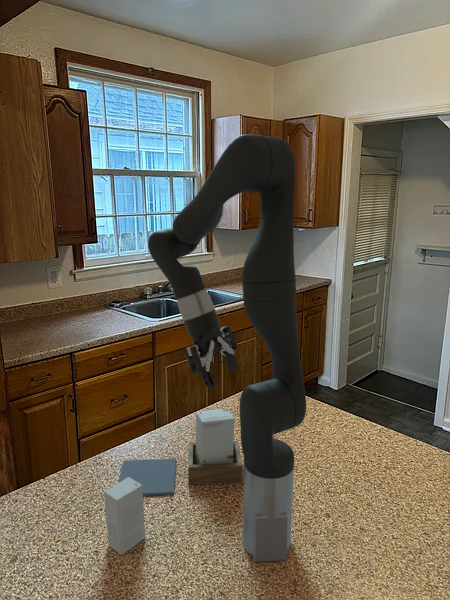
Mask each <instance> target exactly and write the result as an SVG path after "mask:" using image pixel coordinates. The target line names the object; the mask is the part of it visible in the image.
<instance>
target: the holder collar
mask: <svg viewBox="0 0 450 600" xmlns="http://www.w3.org/2000/svg"><path fill="white" fill-rule="evenodd" d="M187 457H188V461H187V463H188V465H187V466H188V468H187V471H188V473H187V474H188V475H187V476H188V485H193V486H194V485H215V484H217V485H218V484H237V483H238V484H241V483H243V470H244V464H243V460H242V454H241V449H240V443H239V440H234V450H233V460H234V462H233V463H227V464H200V465H196V464H194V462H196V441H195V442H193V441H192V442H188V456H187Z"/></svg>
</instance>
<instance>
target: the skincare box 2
mask: <svg viewBox="0 0 450 600" xmlns="http://www.w3.org/2000/svg"><path fill="white" fill-rule="evenodd" d="M234 441H235V417H234V416H233V414H232V413H231V412H230V410H229V409H228V408H220V409H209V410H208V409H207V410H204V411H196V412H195V442H196V461H195V465H200V464H227V463H234V459H233V450H234Z"/></svg>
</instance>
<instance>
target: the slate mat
mask: <svg viewBox="0 0 450 600" xmlns="http://www.w3.org/2000/svg"><path fill="white" fill-rule="evenodd" d="M176 469H177V458H162V459H161V458H156V459H152V458H151V459H130V460H129V459H125V460H123V463H122V466H121V471H120V474H119V478H118V482H117V484H118V483H119V482H121V481H123V480H124V479H126V478H127V477H129V478H131V479H133V480H135V481H136V482H138V483H140V484H141V485H142V489H143V497H145V496H147V497H148V496H166V495H168V496H169V495H175V483H176Z"/></svg>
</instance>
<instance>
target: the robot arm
mask: <svg viewBox="0 0 450 600" xmlns="http://www.w3.org/2000/svg"><path fill="white" fill-rule="evenodd" d="M243 192H244V193H249V194H251V193H252V194H253V193H255V194H256V193H257V194H259V203H260V216H259V217H260V218H259V219H260V220H259V224H258V225H259V226H258V229H257V232H256V235H255V238H254V240H253V242H252V244H251V245H250V248H249V251H248V253H247V256H246V258H245V260H244V264H243V267H242V274H241V277H242V278H241V279H242V280H241V282H242V284H241V285H242V297H243V298H242V299H243V307H244V311H245V314H246V316H247V318H248V320H249V322H250V323H251V324H252V326H253V327H254V329H255V330H256V332H257V333H258V335H259V337H261V339H262V341H263V342H264V343H265V345H266V347H267V349H268V352H269V355H270V359H271V367H272V368H271V369H272V378H271V379H269V380H264V381H261V382H257V383H252V384H249V385H247V386H245V387H244V388H243V390H242V391H241V393H240V399H239V425H240V427H239V428H240V445H241V450H242V454H243V482H242V483H243V485H242V486H243V490H242V491H243V494H242V501H243V502H242V546H243V548H244V550H245V551H246V552H247V553H248V555H250V557H252V560H253V561H252V562H254V563H257V562H258V563H259V562H277V561H279V562H280V561H287V558H288V553H289V551H290V550H291V543H292V542H291V540H292V537H291V536H292V518H293V515H292V514H293V499H294V498H293V493H294V476H295V475H294V472H295V469H294V468H295V453H294V450H293V448H292V447H291V446H290V445H289V444H288V443H287V442H284V441H282V440H281V439H278V438H274V435H277V434H279V433H282V432H285V431H288V430H291V429H294V428H296V427H298V426H300V425H301V424H302V423H303V422H304V420H305V418H306V414H307V413H306V412H307V399H306V398H307V396H306V390H305V389H306V388H305V381H304V375H303V367H302V360H301V354H300V343H299V334H298V333H299V331H298V316H297V315H298V314H297V280H296V269H295V267H296V266H295V249H294V245H295V243H294V240H295V239H294V238H295V237H294V214H295V213H294V210H295V209H294V208H295V192H296V159H295V153H294V150H293V148H292V146H291V144H290V143H289V142H288V141H287V140H285V139H283V138H282V137H275V136H268V135H262V134H253V133H247V134H246V133H244V134H240V135H238V136H236V137H235V138H234V139H232V140H231V142H230V143H229V144H228V145H227V147H226V148H225V149H224V150H223V152H222V153H221V155H220V157H219V159H218V160H217V162H216V163H215V165H214V167H213V169H212V170H211V171H210V173H209V174H208V176H207V177H206V180H205V181H204V183H203V185H202V186H201V188H200V189H199V191H198V192H197V193H196V195H195V196H194V197H193V198H192V199H191V200H190V202H189V203H187V204H186V206H185V207H183V208H182V209H181V210H180V212H178V214H177V215H176V216H175V218H174V220H173V222H172V226H169V227H167V228H163V229H160V230H156V231H154V232H152V233H151V234H150V236H149V237H148V240H147V241H148V242H147V243H148V244H147V246H148V252H149V254H150V256H151V258H152V260H153V261H154V263H155V264H156V266H158V268H159V269H160V270H161V272H162V274H163V275H164V276H165V277H166V279H167V280H168V283H169V284H170V287H171V289H172V291H173V294H174V296H175V299H176V302H177V307H178V309H179V313H180V315H181V317H182V320H183V323H184V326H185V329H186V330H187V333H188V336H189V337H190V338H191V339H192V340H193V345H191V346H187V347H185V348H184V352H185V355H186V358H187V361H188V364H189V367H190V370H191V373H193V374H200V375H201V377H202V380H203V383H204V385H205V386H206V387H207V388H208V389H211V388H215V387H216V386H217V383H216V381H215V377H214V375H213V373H212V370H210V367H211V362H212V361H213V357H214V356H215V355H216V354H217V353H220V354H222V355H223V356H225V357H224V360H225V362H226V365H227V368H228V371H229V372H230V373H232V372H236V371H238V369H239V368H238V367H239V366H238V362H237V360H236V358H235V350H237V349H238V348H239V347H238V343H237V341H236V339H235V336H234V334H233V332H232V329H231V327H230V326H229V325H227V326H226V325H225V326H222V327H221V325H222V324H221V321H220V320H219V319H220V318H219V316H218V314H217V311H216V309H215V305H214V304H213V301H212V298H211V296H210V294H209V292H208V291H207V288H206V285H205V283H204V279H203V277H202V275H201V272H200V270H199V268H198V267H196V266H195V265H187V266H184V265H182V263H181V262H180V261H179V259H180V258H183V257H186V256H187V255H190V254H192V253H193V252H194V251H195V250H196V249H197V248H198V246H199V244H200V242H201V241H202V240H203V239H204V238H205V237H206V236H207V235H209V234H210V232H212V231H213V230H215V228H216V227H217V226H218V225H219V223H220V222H221V219H222V216H223V213H224V206H225V205H224V204H226V202H228V201H229V200H230V199H232V198H233V197H235V196H237V195H239V194H240V193H243Z"/></svg>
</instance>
